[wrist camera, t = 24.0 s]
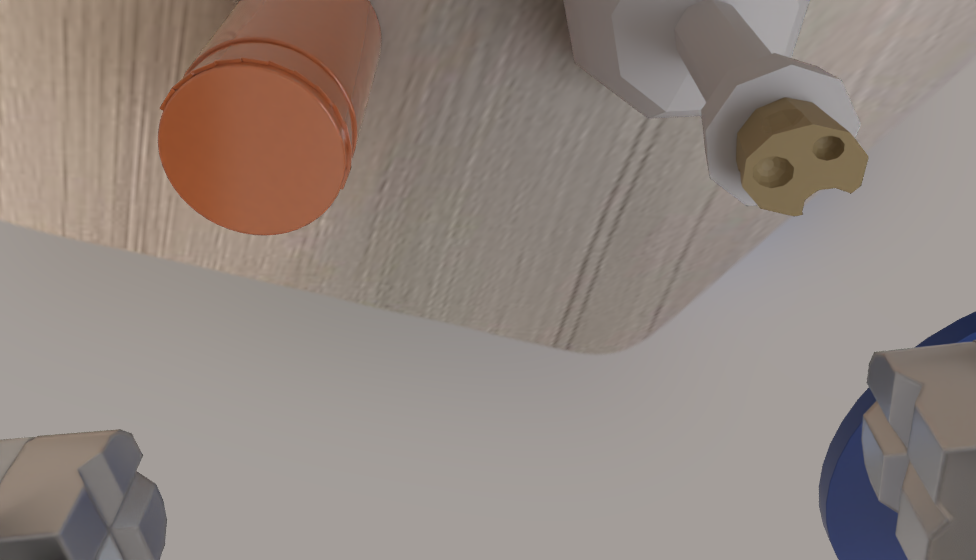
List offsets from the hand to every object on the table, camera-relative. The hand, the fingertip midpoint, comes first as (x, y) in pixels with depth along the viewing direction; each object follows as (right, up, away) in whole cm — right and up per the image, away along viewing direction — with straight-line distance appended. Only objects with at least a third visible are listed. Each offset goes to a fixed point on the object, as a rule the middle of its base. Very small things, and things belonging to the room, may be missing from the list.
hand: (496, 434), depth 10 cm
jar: (-7, +12, +26) cm, 30 cm away
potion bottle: (+7, +14, +25) cm, 30 cm away
